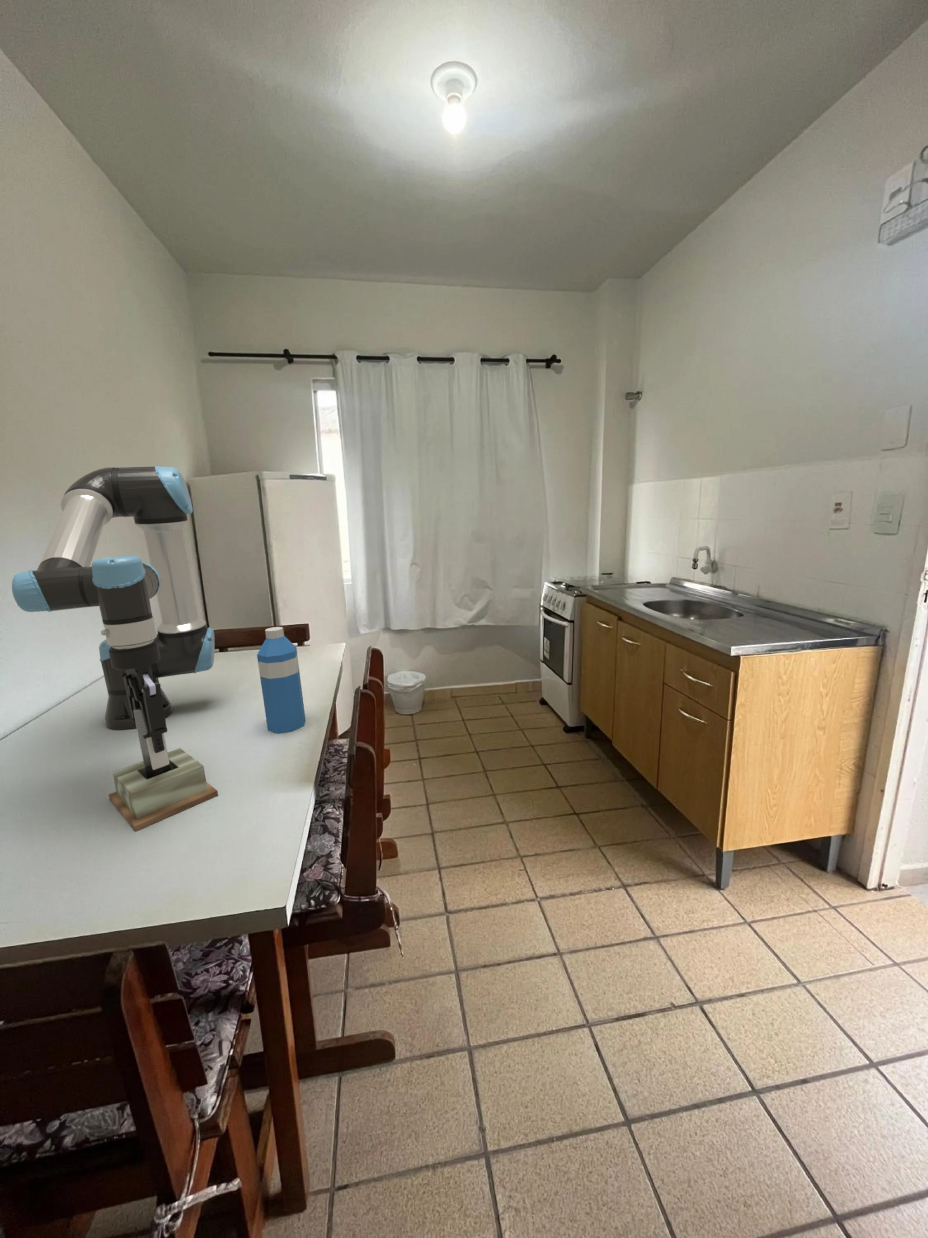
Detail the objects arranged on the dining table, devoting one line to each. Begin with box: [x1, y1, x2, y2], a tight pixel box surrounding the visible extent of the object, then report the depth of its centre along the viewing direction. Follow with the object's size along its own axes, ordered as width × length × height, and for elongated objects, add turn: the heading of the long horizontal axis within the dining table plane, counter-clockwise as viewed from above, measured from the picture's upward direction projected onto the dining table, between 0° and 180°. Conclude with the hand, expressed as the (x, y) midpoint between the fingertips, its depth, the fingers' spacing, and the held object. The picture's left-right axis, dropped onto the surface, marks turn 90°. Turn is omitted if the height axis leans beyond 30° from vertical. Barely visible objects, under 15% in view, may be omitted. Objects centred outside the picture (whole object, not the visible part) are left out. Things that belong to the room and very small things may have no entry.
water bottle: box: [256, 626, 306, 734], centre depth 126 cm, size 9×9×25 cm
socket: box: [108, 747, 219, 832], centre depth 98 cm, size 16×14×6 cm
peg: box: [133, 707, 171, 779], centre depth 96 cm, size 4×4×14 cm
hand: (156, 762), depth 97 cm, fingers closed on peg, 4 cm apart
